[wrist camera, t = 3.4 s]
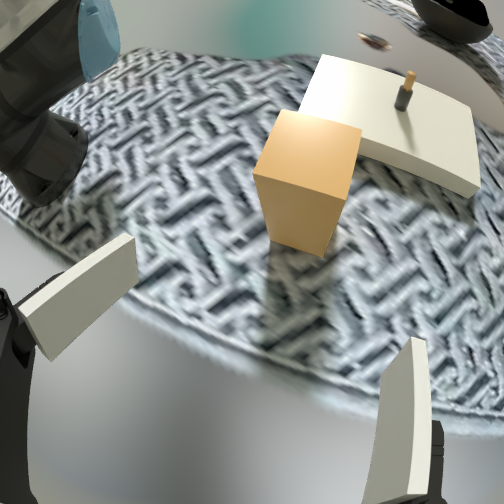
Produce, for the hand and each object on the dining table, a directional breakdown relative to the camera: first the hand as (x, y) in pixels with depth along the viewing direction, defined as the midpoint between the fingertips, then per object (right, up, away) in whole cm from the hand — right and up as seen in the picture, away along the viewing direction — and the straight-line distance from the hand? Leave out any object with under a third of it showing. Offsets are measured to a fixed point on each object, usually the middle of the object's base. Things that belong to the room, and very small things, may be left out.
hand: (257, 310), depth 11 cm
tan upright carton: (+5, +5, +15) cm, 16 cm away
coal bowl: (+43, +51, +22) cm, 70 cm away
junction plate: (+17, +18, +16) cm, 30 cm away
